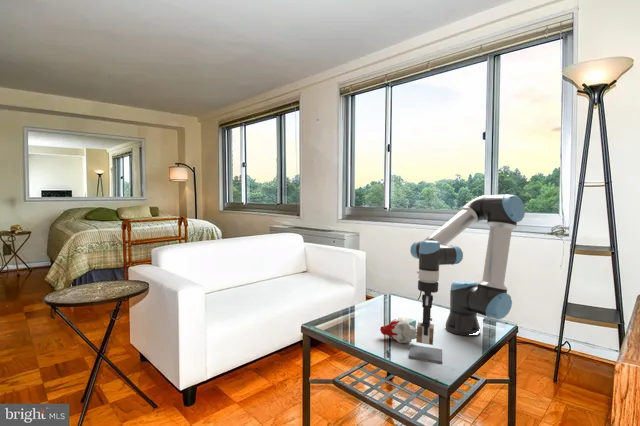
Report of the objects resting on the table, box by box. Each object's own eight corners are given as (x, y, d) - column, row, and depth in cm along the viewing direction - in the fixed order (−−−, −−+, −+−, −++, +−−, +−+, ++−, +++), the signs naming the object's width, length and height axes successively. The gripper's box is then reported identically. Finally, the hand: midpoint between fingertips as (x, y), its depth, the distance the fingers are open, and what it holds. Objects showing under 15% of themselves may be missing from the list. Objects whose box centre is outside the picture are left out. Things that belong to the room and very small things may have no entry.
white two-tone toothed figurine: (418, 345, 142) (381, 346, 144) (415, 335, 153) (380, 336, 155) (416, 323, 142) (379, 325, 144) (413, 315, 153) (379, 316, 155)
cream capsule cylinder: (409, 331, 160) (409, 318, 160) (408, 334, 155) (408, 321, 155) (398, 329, 162) (398, 316, 162) (396, 333, 157) (397, 319, 157)
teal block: (415, 328, 164) (415, 320, 164) (408, 331, 160) (409, 322, 160) (408, 326, 167) (408, 318, 167) (401, 329, 163) (401, 320, 163)
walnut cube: (433, 339, 136) (434, 324, 136) (432, 345, 130) (433, 329, 130) (417, 337, 138) (418, 322, 138) (416, 342, 132) (417, 326, 132)
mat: (442, 351, 138) (442, 349, 138) (442, 363, 127) (442, 361, 127) (411, 346, 142) (411, 344, 142) (408, 357, 131) (408, 355, 131)
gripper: (419, 275, 144) (417, 331, 144) (416, 284, 126) (413, 347, 126) (438, 277, 142) (436, 333, 142) (438, 286, 124) (435, 350, 124)
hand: (425, 340), depth 134 cm, fingers closed on walnut cube, 6 cm apart
